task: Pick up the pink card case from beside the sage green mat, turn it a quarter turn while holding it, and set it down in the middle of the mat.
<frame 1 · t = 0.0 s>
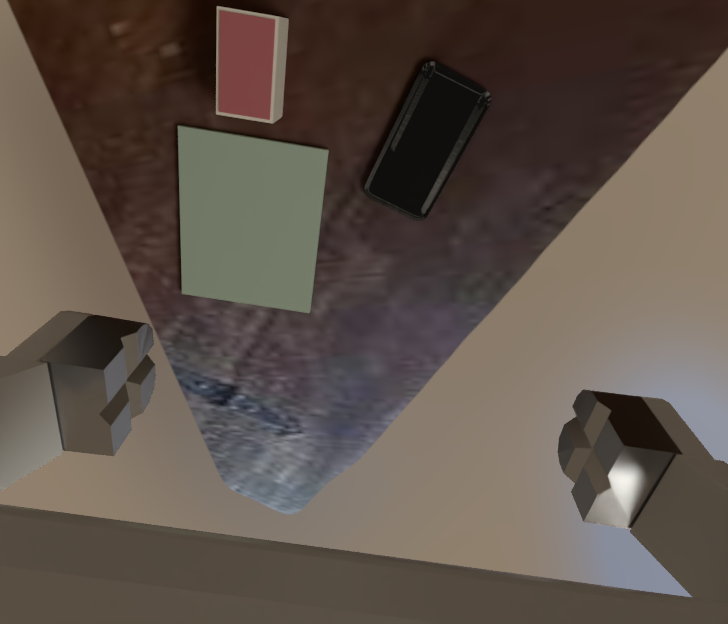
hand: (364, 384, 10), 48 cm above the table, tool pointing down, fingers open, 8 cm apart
card case: (258, 65, 51), on the table
phone: (423, 144, 54), on the table
mat: (250, 225, 59), on the table
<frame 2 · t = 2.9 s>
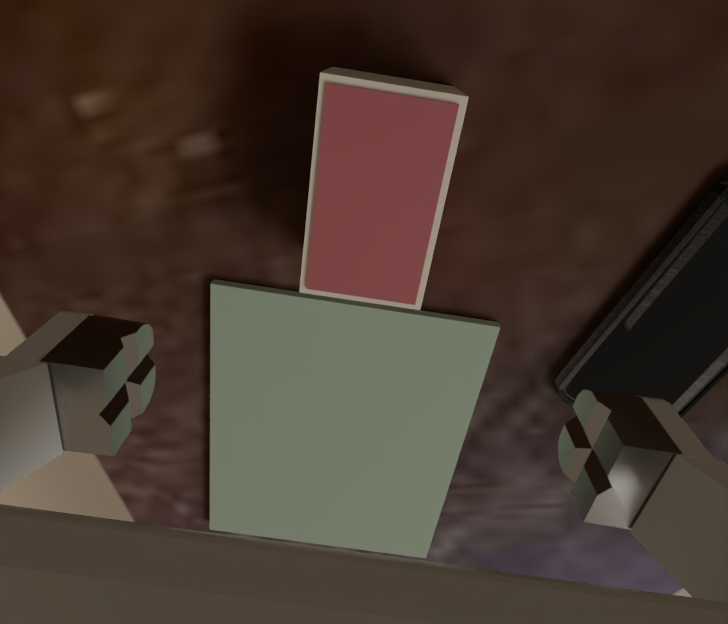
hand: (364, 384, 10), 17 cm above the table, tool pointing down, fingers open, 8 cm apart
card case: (377, 175, 25), on the table
phone: (680, 312, 28), on the table
mat: (335, 435, 33), on the table
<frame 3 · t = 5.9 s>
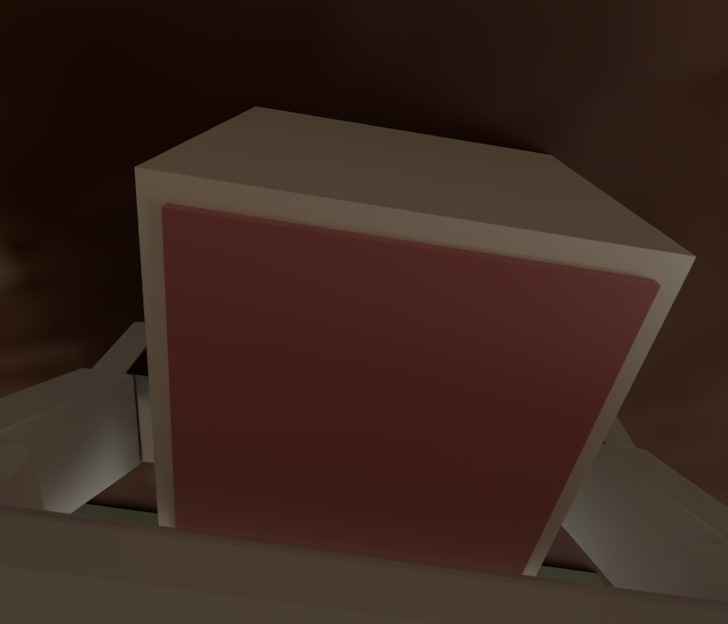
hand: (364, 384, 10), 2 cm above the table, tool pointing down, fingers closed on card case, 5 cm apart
card case: (367, 337, 11), on the table, touching gripper
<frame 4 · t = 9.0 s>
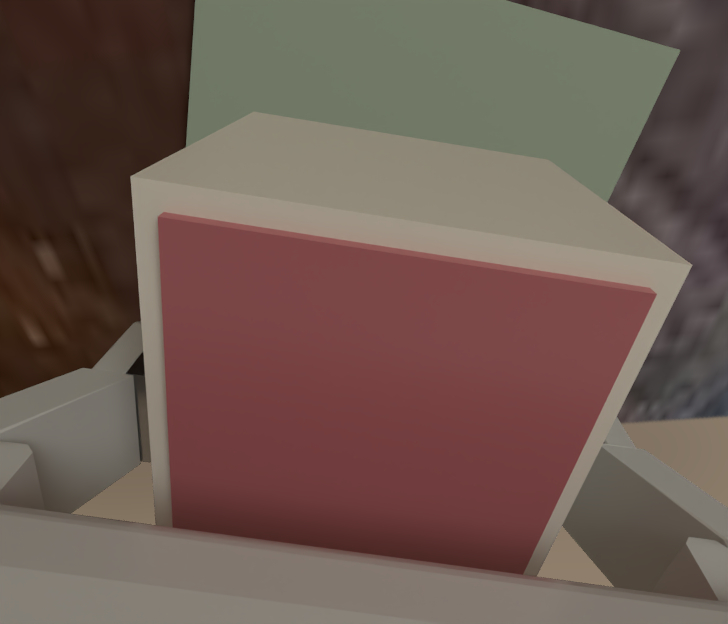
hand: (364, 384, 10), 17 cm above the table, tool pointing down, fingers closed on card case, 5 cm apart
card case: (366, 341, 11), point 15 cm above the table, touching gripper
mat: (398, 176, 24), on the table
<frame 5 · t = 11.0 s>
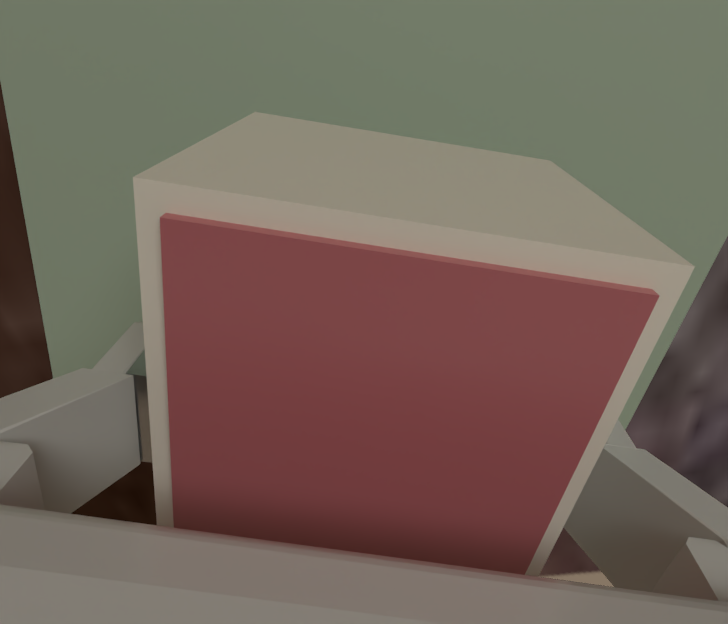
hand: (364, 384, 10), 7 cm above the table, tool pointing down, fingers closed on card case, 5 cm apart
card case: (367, 342, 11), point 5 cm above the table, touching gripper
mat: (365, 253, 15), on the table
when the fingers open (4 cm above the table, at t = 12.5 s): card case drops 1 cm, resting on mat.
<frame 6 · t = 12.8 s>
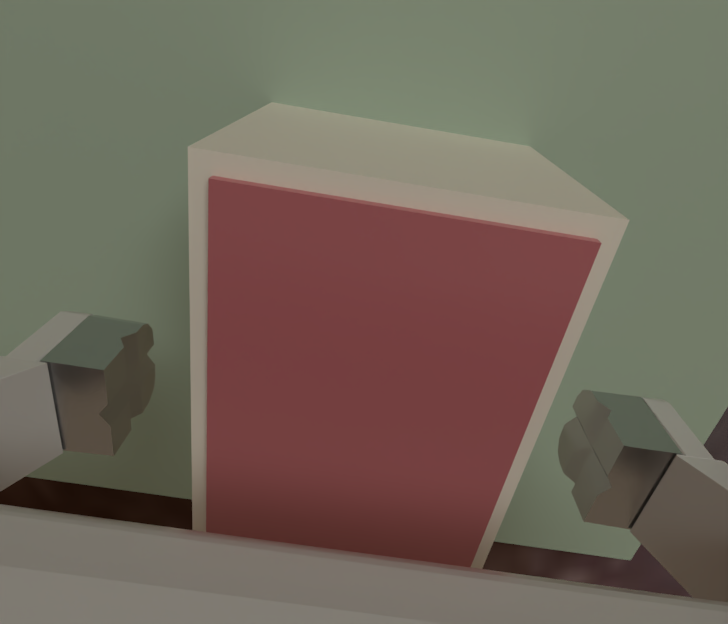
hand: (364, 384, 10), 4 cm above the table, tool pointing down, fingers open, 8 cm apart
card case: (368, 310, 13), point 1 cm above the table, touching mat
mat: (372, 293, 13), on the table
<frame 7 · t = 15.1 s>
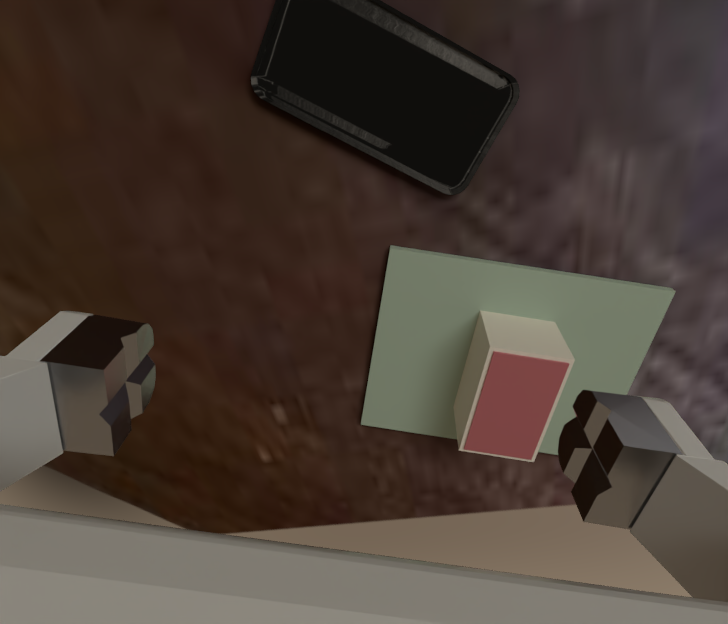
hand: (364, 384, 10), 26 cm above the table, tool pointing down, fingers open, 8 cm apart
card case: (501, 366, 39), point 1 cm above the table, touching mat
phone: (383, 87, 31), on the table
mat: (501, 360, 39), on the table
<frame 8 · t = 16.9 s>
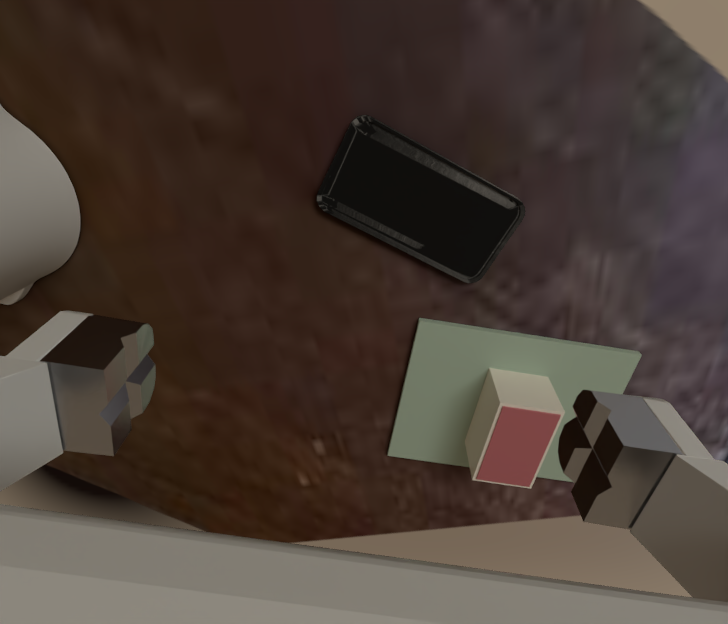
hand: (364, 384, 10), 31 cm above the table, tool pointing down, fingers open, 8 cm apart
card case: (504, 410, 48), point 1 cm above the table, touching mat
phone: (419, 201, 40), on the table
mat: (504, 404, 49), on the table
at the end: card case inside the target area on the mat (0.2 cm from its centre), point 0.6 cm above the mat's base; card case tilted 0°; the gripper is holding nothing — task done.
